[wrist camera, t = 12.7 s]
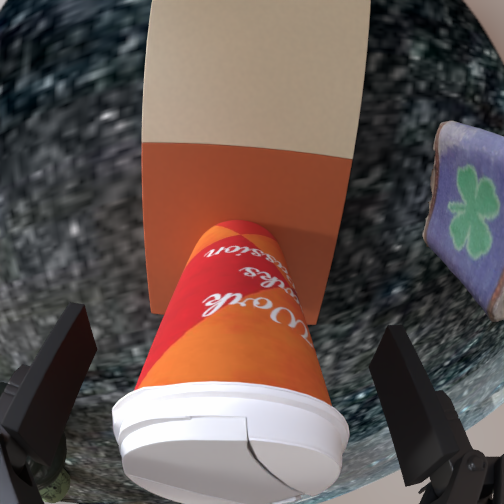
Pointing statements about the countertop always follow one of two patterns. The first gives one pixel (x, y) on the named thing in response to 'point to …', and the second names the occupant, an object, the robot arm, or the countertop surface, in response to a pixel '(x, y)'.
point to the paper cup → (232, 385)
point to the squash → (42, 472)
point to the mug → (56, 488)
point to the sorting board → (250, 130)
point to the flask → (469, 211)
